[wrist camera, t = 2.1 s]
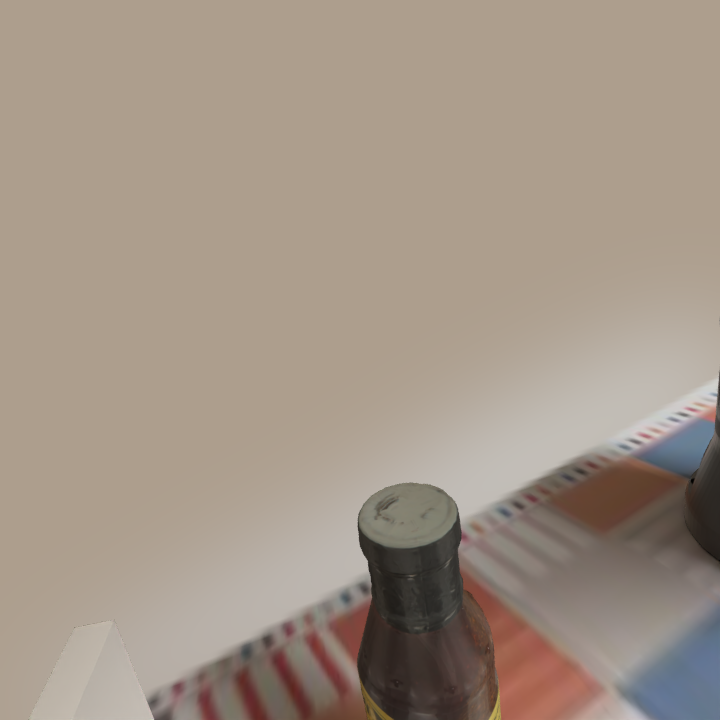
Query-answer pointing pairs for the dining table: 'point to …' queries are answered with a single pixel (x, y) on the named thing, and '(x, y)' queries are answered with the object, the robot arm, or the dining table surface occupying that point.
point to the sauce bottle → (421, 614)
